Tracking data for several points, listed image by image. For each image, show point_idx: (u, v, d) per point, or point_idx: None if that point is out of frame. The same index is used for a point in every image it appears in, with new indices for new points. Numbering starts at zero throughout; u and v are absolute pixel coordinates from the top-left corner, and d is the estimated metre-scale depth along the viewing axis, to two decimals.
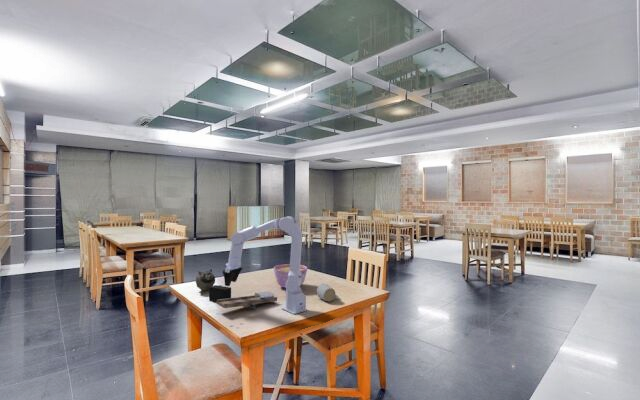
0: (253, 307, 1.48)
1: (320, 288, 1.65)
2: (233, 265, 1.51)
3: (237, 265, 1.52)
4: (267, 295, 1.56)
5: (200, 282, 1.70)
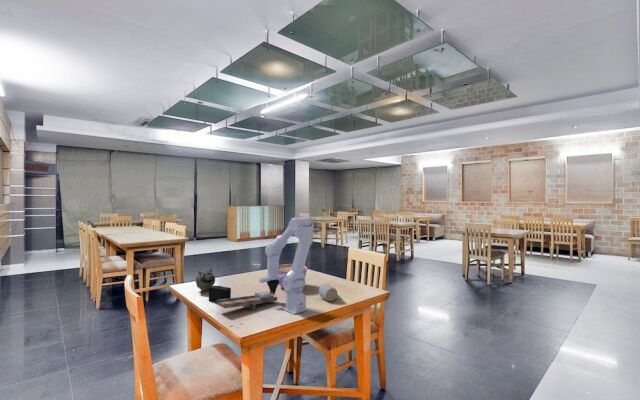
0: (253, 307, 1.48)
1: (322, 288, 1.65)
2: (269, 276, 1.59)
3: (273, 276, 1.58)
4: (267, 295, 1.56)
5: (200, 282, 1.70)
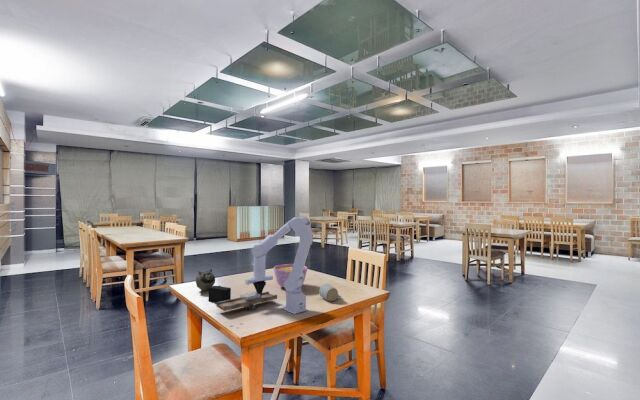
0: (253, 307, 1.48)
1: (323, 288, 1.65)
2: (255, 277, 1.53)
3: (259, 277, 1.53)
4: (253, 297, 1.51)
5: (200, 282, 1.70)
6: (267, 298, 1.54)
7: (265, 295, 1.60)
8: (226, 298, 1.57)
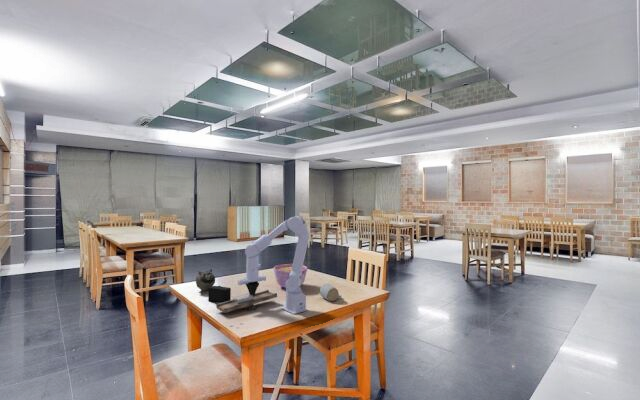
0: (253, 307, 1.48)
1: (323, 288, 1.65)
2: (248, 278, 1.51)
3: (252, 278, 1.50)
4: (245, 299, 1.48)
5: (200, 282, 1.70)
6: (267, 297, 1.54)
7: (265, 294, 1.60)
8: (226, 298, 1.57)
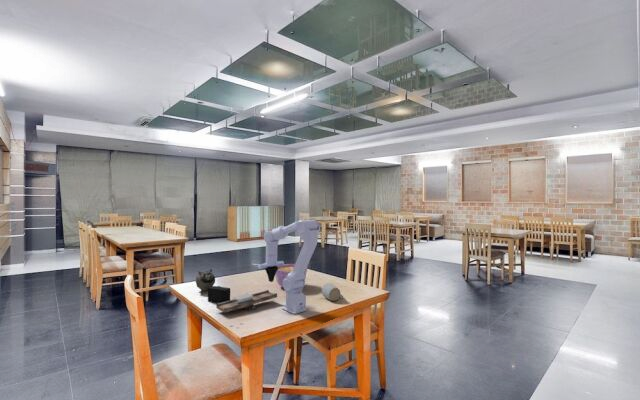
0: (253, 307, 1.48)
1: (325, 287, 1.66)
2: (267, 262, 1.58)
3: (271, 262, 1.58)
4: (245, 299, 1.48)
5: (200, 282, 1.70)
6: (267, 297, 1.54)
7: (265, 294, 1.60)
8: (226, 298, 1.57)
